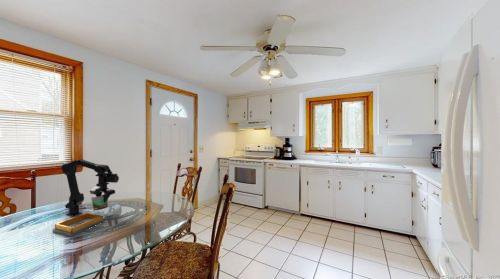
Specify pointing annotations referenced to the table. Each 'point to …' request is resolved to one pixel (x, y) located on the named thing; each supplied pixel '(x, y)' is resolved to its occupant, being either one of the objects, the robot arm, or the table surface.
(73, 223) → the wooden tray
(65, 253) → the table surface
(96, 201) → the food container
